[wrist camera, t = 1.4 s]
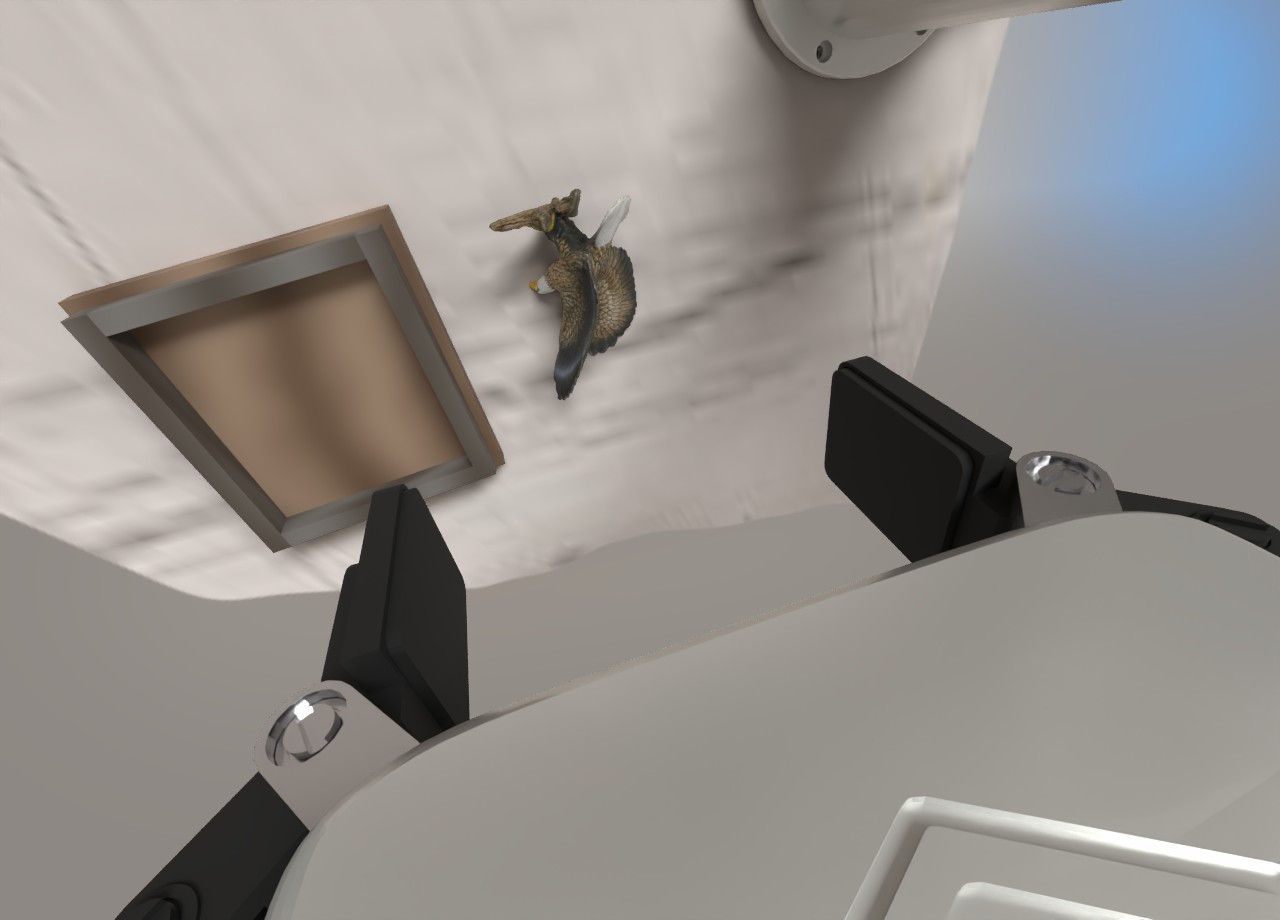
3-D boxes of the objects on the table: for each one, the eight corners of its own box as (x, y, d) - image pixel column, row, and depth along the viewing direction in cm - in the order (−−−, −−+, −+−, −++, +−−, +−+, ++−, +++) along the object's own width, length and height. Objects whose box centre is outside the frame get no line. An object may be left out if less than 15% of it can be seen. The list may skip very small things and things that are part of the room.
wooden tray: (388, 204, 25) (382, 213, 23) (503, 453, 34) (507, 477, 32) (73, 294, 23) (36, 314, 21) (281, 531, 32) (269, 561, 30)
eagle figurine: (446, 240, 26) (527, 404, 30) (528, 205, 21) (611, 408, 25) (560, 196, 30) (617, 345, 34) (650, 157, 25) (705, 338, 29)
